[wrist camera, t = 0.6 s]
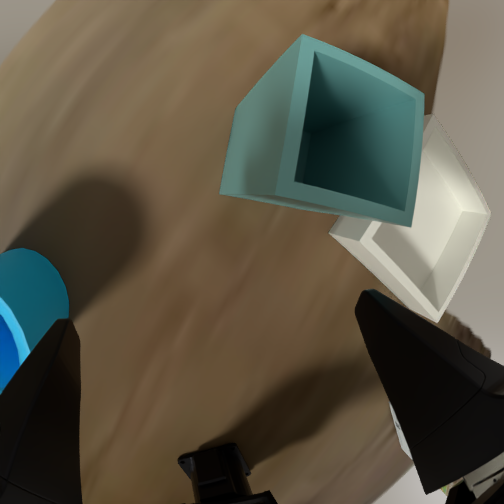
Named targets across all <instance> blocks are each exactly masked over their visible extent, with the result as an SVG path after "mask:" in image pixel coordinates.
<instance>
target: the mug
mask: <svg viewBox="0 0 504 504" xmlns="http://www.w3.org/2000/svg"><path fill="white" fill-rule="evenodd" d="M68 317H69V299H68V295H67V290H66V286H65V284H64V282H63V280H62V278H61V276H60V274H59V272H58V271H57V270H56V268H55V267H54V266H53V265H52V264H51V263H50V261H49V260H48V259H47V258H45V257H44V256H42V255H40V254H39V253H37V252H36V251H33V250H29V249H25V248H18V249H12V250H9V251H6V252H4V253H2V254H0V394H1V392H2V391H3V389H4V388H5V387H6V385H7V384H8V382H9V381H10V379H11V378H12V377H13V375H14V374H15V372H16V371H17V370H18V368H19V367H20V366H21V364H22V363H23V362H24V360H25V359H26V358H27V356H28V355H29V354H30V352H31V351H32V350H33V348H34V347H35V346H36V345H37V343H38V342H39V341H40V339H41V338H42V337H43V336H44V334H45V333H46V332H47V331H48V330H49V328H50V327H51V326H52V325H53V323H54V322H55V321H56V320H57V319H60V318H68Z"/></svg>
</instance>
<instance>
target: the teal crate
mask: <svg viewBox="0 0 504 504" xmlns="http://www.w3.org/2000/svg"><path fill="white" fill-rule="evenodd" d="M423 125H424V93H422V92H421V91H419V90H417V89H416V88H414V87H412V86H411V85H409V84H407V83H406V82H404V81H402V80H401V79H399V78H397V77H395V76H393V75H392V74H390V73H388V72H386V71H384V70H382V69H381V68H379V67H377V66H375V65H373V64H371V63H369V62H367V61H365V60H363V59H361V58H359V57H357V56H354V55H352V54H350V53H348V52H346V51H343V50H341V49H339V48H336V47H334V46H332V45H329V44H327V43H324V42H322V41H319V40H317V39H314V38H312V37H309V36H306V35H304V34H302V35H301V36H300V37H299V38H298V39H297V40H296V41H295V42H294V43H293V44H292V45H291V46H290V47H289V48H288V49H287V50H286V51H285V52H284V54H283V55H282V56H281V57H280V58H279V59H278V60H277V61H276V62H275V63H274V64H273V66H272V67H271V68H270V69H269V70H268V71H267V72H266V73H265V74H264V76H263V77H262V78H261V79H260V80H259V81H258V82H257V84H256V85H255V86H254V87H253V88H252V89H251V91H250V92H249V93H248V94H247V95H246V96H245V98H244V99H243V100H242V101H241V102H240V104H239V105H238V106H237V107H236V109H235V114H234V119H233V124H232V128H231V133H230V139H229V144H228V149H227V154H226V159H225V164H224V170H223V175H222V181H221V186H220V192H219V194H222V195H228V196H233V197H239V198H245V199H250V200H256V201H261V202H266V203H272V204H277V205H282V206H287V207H292V208H297V209H302V210H309V211H316V212H322V213H329V214H335V215H342V216H348V217H354V218H360V219H366V220H372V221H378V222H383V223H389V224H394V225H400V226H405V227H410V228H411V226H412V221H413V215H414V209H415V202H416V196H417V189H418V181H419V172H420V163H421V153H422V141H423Z"/></svg>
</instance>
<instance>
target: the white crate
mask: <svg viewBox="0 0 504 504" xmlns="http://www.w3.org/2000/svg"><path fill="white" fill-rule="evenodd" d="M490 216H491V211H490V209H489V207H488V205H487V203H486V201H485V199H484V196H483V195H482V193H481V191H480V189H479V187H478V185H477V183H476V181H475V179H474V177H473V176H472V174H471V172H470V170H469V168H468V167H467V165H466V163H465V162H464V160H463V158H462V156H461V155H460V153H459V152H458V150H457V148H456V147H455V145H454V144H453V142H452V140H451V139H450V138H449V136H448V134H447V133H446V131H445V130H444V128H443V127H442V125H441V124H440V123H439V121H438V120H437V119H436V117H435V116H434V114H429V115H424V125H423V141H422V153H421V163H420V172H419V181H418V189H417V196H416V202H415V209H414V215H413V221H412V226H411V228H410V227H405V226H400V225H394V224H389V223H383V222H378V221H372V220H366V219H360V218H354V217H348V216H342V215H340V216H339V218H338V219H337V221H336V222H335V223H334V225H333V226H332V228H331V229H330V231H329V232H328V233H329V234H330V235H331V236H332V237H333V238H335V239H336V240H337V241H338V242H339V243H340V244H341V245H342V246H343V247H345V248H346V249H347V250H348V251H349V252H350V253H351V254H352V255H353V256H354V257H355V258H357V259H358V260H359V261H360V262H361V263H362V264H363V265H364V266H365V267H366V268H367V269H368V270H369V271H371V272H372V273H373V274H374V275H375V276H376V277H377V278H378V279H379V280H380V281H381V282H382V283H383V284H384V285H385V286H386V287H387V288H388V289H389V290H390V291H391V292H392V293H394V294H395V295H396V296H397V297H398V298H399V299H400V300H401V301H402V302H403V303H404V304H405V305H406V306H407V307H408V308H409V309H411V310H413V311H415V312H417V313H419V314H421V315H423V316H425V317H427V318H429V319H430V320H432V321H434V322H436V323H438V321H439V320H440V318H441V316H442V315H443V313H444V311H445V309H446V308H447V306H448V304H449V303H450V301H451V299H452V297H453V295H454V294H455V292H456V290H457V288H458V286H459V284H460V282H461V280H462V278H463V276H464V274H465V272H466V271H467V268H468V266H469V264H470V262H471V260H472V258H473V256H474V254H475V252H476V249H477V247H478V245H479V243H480V240H481V238H482V236H483V233H484V231H485V229H486V226H487V224H488V221H489V219H490Z"/></svg>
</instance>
